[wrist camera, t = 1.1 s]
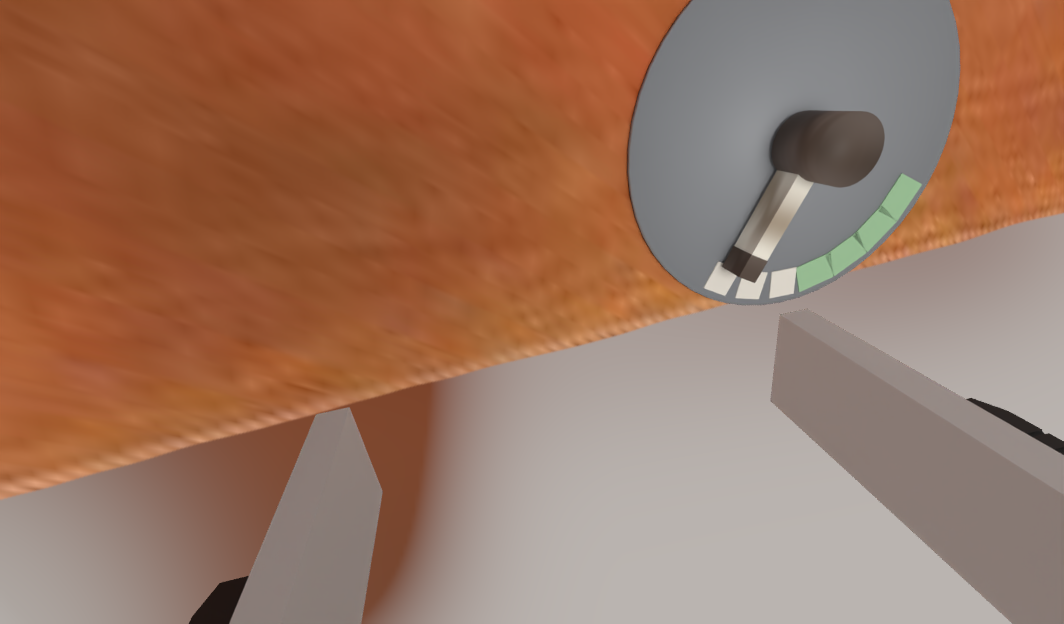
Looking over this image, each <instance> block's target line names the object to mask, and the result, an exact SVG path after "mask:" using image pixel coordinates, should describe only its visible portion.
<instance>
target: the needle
mask: <svg viewBox="0 0 1064 624" xmlns="http://www.w3.org/2000/svg"><path fill="white" fill-rule="evenodd" d="M884 141H885V134H884V128H883V125H882V123H881V121H880V120H879V118H878V117H877V116H875V115H874V114H872V113H870V112H866V111H820V110H807V111H801V112H799V113H796V114H794V115H793V116H791V117H790V118H789V119H787V120H786V121H785V122H784V123H783V125H782V126H781V127H780V129H779V130H778V132H777V134H776V136H775V138H774V141H773V145H772V161H773V164H774V166H775V168H776V170H777V171H776V173H775V175H774V176H773V178H772V180H771V182H770V183H769V185H768V187H767V189H766V191H765V192H764V194H763V196H762V198H761V199H760V201H759V203H758V205H757V207H756V208H755V210H754V212H753V214H752V215H751V217H750V219H749V221H748V223H747V224H746V226H745V228H744V230H743V231H742V233H741V235H740V237H739V239H738V240H737V242H736V244H735V246H733V247H732V249H731V251H730V253H729V255H728V256H727V258H726V260H725V262H724V263H723V265H722V267H723V268H724V269H726V270H728V271H729V272H731V273H733V274H735V275H736V276H738V277H740V278H743V279H745V280H748V281H750V282H753V283H755V282H756V281H757V279H758V277H759V276H760V274H761V272H762V271H763V269H764V267H765V266H766V264H767V262H768V261H767V260H768V259H769V257H770V255H771V254H772V252H773V250H774V249H775V247H776V245H777V244H778V242H779V240H780V239H781V237H782V235H783V233H784V232H785V230H786V228H787V227H788V225H789V223H790V222H791V220H792V218H793V217H794V215H795V213H796V212H797V210H798V208H799V207H800V205H801V203H802V202H803V200H804V198H805V197H806V195H807V193H808V192H809V190H810V188H811V186H812V185H813V183H819V184H823V185H828V186H833V187H838V188H843V187H848V186H851V185H854V184H856V183H858V182H859V181H861V180H862V179H863V178H865V177H866V176H867V175H868V174H869V173H870V172H871V171H872V169H873V168H874V167H875V165H876V164H877V162H878V160H879V158H880V156H881V153H882V151H883V147H884Z"/></svg>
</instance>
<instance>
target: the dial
mask: <svg viewBox="0 0 1064 624" xmlns="http://www.w3.org/2000/svg"><path fill="white" fill-rule="evenodd" d="M959 77H960V46H959V39H958V33H957V26H956V21H955V18H954V14H953V11H952V8H951V4H950V1H949V0H691V1H690V2H689V3H688V5H687V6H686V7H685V8H684V10H683V11H682V12H681V13H680V14H679V16H678V17H677V18H676V20H675V22H674V23H673V25H672V26H671V28H670V29H669V31H668V32H667V34H666V35H665V37H664V39H663V40H662V42H661V44H660V46H659V48H658V50H657V52H656V54H655V56H654V57H653V59H652V61H651V63H650V65H649V67H648V70H647V73H646V75H645V78H644V81H643V83H642V86H641V89H640V91H639V94H638V97H637V101H636V105H635V109H634V113H633V117H632V121H631V128H630V136H629V143H628V169H627V173H628V183H629V192H630V198H631V202H632V207H633V211H634V215H635V218H636V221H637V223H638V226H639V229H640V231H641V234H642V236H643V238H644V240H645V241H646V243H647V245H648V247H649V248H650V250H651V252H652V254H653V255H654V256H655V257H656V259H657V260H658V261H659V262H660V264H661V265H662V266H663V267H664V268H665V269H666V270H667V271H668V272H669V273H670V274H671V275H672V276H673V277H674V278H675V279H677V280H678V281H679V282H681V283H682V284H684V285H685V286H687V287H688V288H690V289H691V290H693V291H694V292H696V293H699V294H701V295H703V296H705V297H708V298H710V299H713V300H717V301H721V302H724V303H729V304H737V305H766V304H773V303H780V302H784V301H787V300H791V299H795V298H798V297H801V296H803V295H806V294H809V293H811V292H814V291H816V290H818V289H820V288H822V287H824V286H826V285H828V284H830V283H832V282H833V281H835V280H837V279H838V278H840V277H841V276H843V275H845V274H846V273H848V272H849V271H851V270H852V269H853V268H855V267H856V266H857V265H859V264H860V263H861V262H862V261H864V260H865V259H866V258H867V257H869V256H870V255H871V254H872V253H873V252H874V251H875V250H876V249H877V248H878V247H879V246H880V245H881V244H882V243H883V242H885V240H886V239H887V238H888V237H889V236H890V235H891V234H892V233H893V231H894V230H895V229H896V228H897V227H898V226H899V225H900V223H901V222H902V221H903V219H904V218H905V217H906V215H907V214H908V213H909V211H910V210H911V209H912V207H913V206H914V205H915V203H916V201H917V200H918V198H919V196H920V195H921V193H922V192H923V190H924V188H925V187H926V185H927V183H928V181H929V179H930V177H931V175H932V173H933V171H934V169H935V167H936V166H937V164H938V161H939V159H940V156H941V154H942V151H943V149H944V146H945V144H946V141H947V138H948V134H949V131H950V128H951V124H952V121H953V117H954V112H955V107H956V102H957V97H958V89H959ZM807 110H820V111H866V112H870V113H872V114H874V115H875V116H877V117H878V118H879V120H880V121H881V123H882V125H883V128H884V134H885V141H884V147H883V151H882V153H881V156H880V158H879V160H878V162H877V164H876V165H875V167H874V168H873V169H872V171H871V172H870V173H869V174H868V175H867V176H866V177H865V178H863V179H862V180H861V181H859V182H858V183H856V184H854V185H851V186H848V187H843V188H838V187H833V186H828V185H823V184H819V183H813V185H812V186H811V188H810V190H809V192H808V193H807V195H806V197H805V198H804V200H803V202H802V203H801V205H800V207H799V208H798V210H797V212H796V213H795V215H794V217H793V218H792V220H791V222H790V223H789V225H788V227H787V228H786V230H785V232H784V233H783V235H782V237H781V239H780V240H779V242H778V244H777V245H776V247H775V249H774V250H773V252H772V254H771V255H770V257H769V259H768V260H767V261H768V262H767V264H766V266H765V267H764V269H763V271H762V272H761V274H760V276H759V277H758V279H757V281H756V282H755V283H753V282H750V281H748V280H745V279H743V278H740V277H738V276H736V275H735V274H733V273H731V272H729V271H728V270H726V269H724V268H723V267H722V265H723V263H724V262H725V260H726V258H727V256H728V255H729V253H730V251H731V249H732V247H733V246H735V244H736V242H737V240H738V239H739V237H740V235H741V233H742V231H743V230H744V228H745V226H746V224H747V223H748V221H749V219H750V217H751V215H752V214H753V212H754V210H755V208H756V207H757V205H758V203H759V201H760V199H761V198H762V196H763V194H764V192H765V191H766V189H767V187H768V185H769V183H770V182H771V180H772V178H773V176H774V175H775V173H776V171H777V170H776V168H775V166H774V164H773V161H772V145H773V141H774V138H775V136H776V134H777V132H778V130H779V129H780V127H781V126H782V125H783V123H784V122H785V121H786V120H787V119H789V118H790V117H791V116H793V115H794V114H796V113H799V112H801V111H807Z"/></svg>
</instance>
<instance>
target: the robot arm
mask: <svg viewBox="0 0 1064 624" xmlns="http://www.w3.org/2000/svg"><path fill="white" fill-rule="evenodd" d="M771 402H772V403H773V404H775V405H776V406H777V407H778V408H779V409H780V410H781V411H782V412H783V413H784V414H785V415H786V416H787V417H789V418H790V419H791V420H792V421H793V422H794V423H795V424H796V425H797V426H798V427H799V428H801V429H802V430H803V431H804V432H805V433H806V434H807V435H808V436H809V437H810V438H811V439H812V440H814V441H815V442H816V443H817V444H818V445H819V446H820V447H821V448H822V449H823V450H825V452H827V453H828V454H829V455H830V456H831V457H832V458H833V459H834V460H835V461H836V462H837V463H839V464H840V465H841V466H842V467H843V468H844V469H845V470H846V471H847V472H848V473H849V474H851V475H852V476H853V477H854V478H855V479H856V480H857V481H858V482H859V483H860V484H861V485H862V486H864V487H865V488H866V489H867V490H868V491H869V492H870V493H871V494H872V495H873V496H875V497H876V498H877V499H878V500H879V501H880V502H881V503H882V504H883V505H884V506H885V507H886V508H887V509H889V510H890V511H891V512H892V513H893V514H894V515H895V516H896V517H897V518H898V519H899V520H900V521H902V522H903V523H904V524H905V525H906V526H907V527H908V528H909V529H910V530H911V531H912V532H914V533H915V534H916V535H917V536H918V537H919V538H920V539H921V540H922V541H923V542H924V543H925V544H927V545H928V546H929V547H930V548H931V549H932V550H933V551H934V552H935V553H936V554H938V555H939V556H940V557H941V558H942V559H943V560H944V561H945V562H946V563H947V564H948V565H949V566H951V567H952V568H953V569H954V570H955V571H956V572H957V573H958V574H959V575H960V576H961V577H962V578H964V579H965V580H966V581H967V582H968V583H969V584H970V585H971V586H972V587H973V588H974V589H975V590H977V591H978V592H979V593H980V594H981V595H982V596H983V597H984V598H985V599H986V600H987V601H989V602H990V603H991V604H992V605H993V606H994V607H995V608H996V609H997V610H998V611H999V612H1000V613H1002V614H1003V615H1004V616H1005V617H1006V618H1007V619H1008V620H1009V621H1010V622H1011V623H1012V624H1064V441H1062V440H1060V439H1058V438H1056V437H1054V436H1053V435H1051V434H1044V433H1043V432H1042V429H1040V428H1038V427H1036V426H1034V425H1033V424H1031V423H1029V422H1027V421H1025V420H1024V419H1022V418H1020V417H1018V416H1016V415H1014V414H1013V413H1011V412H1009V411H1006V410H1004V409H1001V408H998V407H995V406H992V405H989V404H987V403H984V402H981V401H978V400H976V399H972V398H969V399H965V398H963V397H961V396H959V395H957V394H956V393H954V392H952V391H951V390H949V389H947V388H945V387H943V386H942V385H940V384H938V383H936V382H935V381H933V380H931V379H930V378H928V377H926V376H924V375H922V374H921V373H919V372H917V371H916V370H914V369H912V368H910V367H908V366H907V365H905V364H903V363H902V362H900V361H898V360H896V359H894V358H893V357H891V356H889V355H888V354H886V353H884V352H882V351H880V350H879V349H877V348H875V347H873V346H872V345H870V344H868V343H866V342H865V341H863V340H861V339H860V338H857V337H856V336H854V335H852V334H851V333H849V332H847V331H846V330H844V329H842V328H840V327H839V326H837V325H835V324H833V323H831V322H830V321H828V320H826V319H824V318H823V317H821V316H819V315H817V314H816V313H814V312H812V311H810V310H809V309H804V310H799V311H794V312H790V313H785V314H780V320H779V328H778V337H777V346H776V355H775V364H774V373H773V383H772V392H771ZM381 497H382V489H381V487H380V484H379V481H378V479H377V476H376V474H375V471H374V469H373V466H372V463H371V461H370V458H369V456H368V453H367V451H366V448H365V446H364V443H363V441H362V438H361V436H360V433H359V430H358V428H357V425H356V423H355V420H354V418H353V415H352V413H351V410H350V408H349V407H348V408H344V409H339V410H334V411H330V412H325V413H320V414H316V416H315V418H314V421H313V423H312V426H311V428H310V430H309V433H308V435H307V438H306V440H305V443H304V445H303V447H302V450H301V452H300V455H299V457H298V459H297V462H296V464H295V466H294V469H293V471H292V474H291V476H290V479H289V481H288V483H287V486H286V488H285V491H284V493H283V495H282V498H281V500H280V503H279V505H278V507H277V510H276V512H275V515H274V517H273V520H272V522H271V524H270V527H269V529H268V531H267V534H266V536H265V539H264V541H263V544H262V546H261V549H260V551H259V553H258V556H257V558H256V560H255V563H254V565H253V568H252V570H251V572H250V575H249V576H246V577H242V578H239V579H234V580H230V581H226V582H222V583H219V585H218V586H217V587H216V588H215V590H214V591H213V592H212V593H211V594H210V596H209V597H208V598H207V599H206V601H205V602H204V603H203V604H202V605H201V607H200V608H199V609H198V610H197V611H196V613H195V614H194V615H193V616H192V618H191V621H190V622H189V624H361V620H362V614H363V609H364V602H365V596H366V590H367V584H368V578H369V572H370V565H371V559H372V553H373V547H374V541H375V535H376V529H377V523H378V516H379V510H380V504H381Z"/></svg>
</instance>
